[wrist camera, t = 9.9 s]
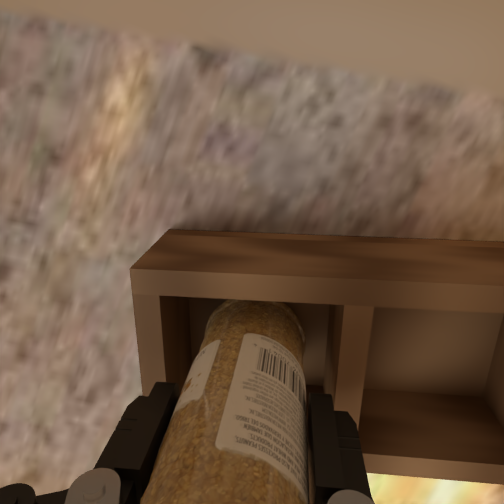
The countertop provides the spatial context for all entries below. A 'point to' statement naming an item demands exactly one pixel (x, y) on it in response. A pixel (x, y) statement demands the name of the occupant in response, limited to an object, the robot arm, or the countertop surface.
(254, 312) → the sprinkles bottle
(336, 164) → the countertop surface
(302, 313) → the spice caddy
